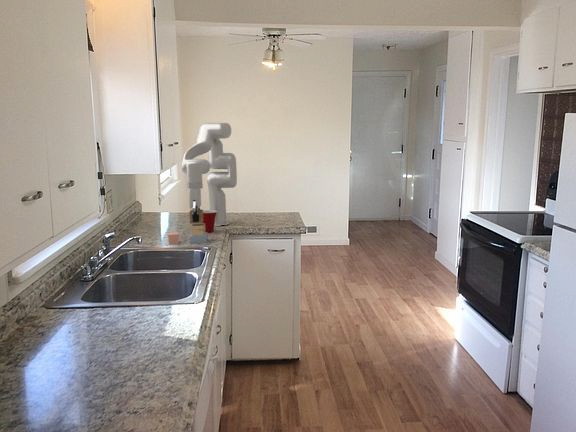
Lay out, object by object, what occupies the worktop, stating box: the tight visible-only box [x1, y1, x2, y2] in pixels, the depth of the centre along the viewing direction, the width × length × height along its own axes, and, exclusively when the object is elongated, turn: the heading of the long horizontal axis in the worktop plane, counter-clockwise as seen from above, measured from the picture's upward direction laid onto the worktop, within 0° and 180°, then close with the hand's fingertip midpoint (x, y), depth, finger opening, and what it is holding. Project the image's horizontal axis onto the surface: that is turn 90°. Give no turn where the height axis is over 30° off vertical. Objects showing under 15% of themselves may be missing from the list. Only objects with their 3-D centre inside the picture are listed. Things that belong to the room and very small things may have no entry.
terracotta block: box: [167, 231, 180, 245], centre depth 253 cm, size 5×5×5 cm
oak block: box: [190, 223, 205, 236], centre depth 256 cm, size 6×6×5 cm
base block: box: [189, 232, 208, 244], centre depth 256 cm, size 8×8×4 cm
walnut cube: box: [188, 209, 204, 225], centre depth 254 cm, size 6×6×6 cm
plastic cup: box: [202, 209, 217, 234], centre depth 278 cm, size 11×11×12 cm
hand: (196, 220), depth 254 cm, fingers closed on walnut cube, 5 cm apart
